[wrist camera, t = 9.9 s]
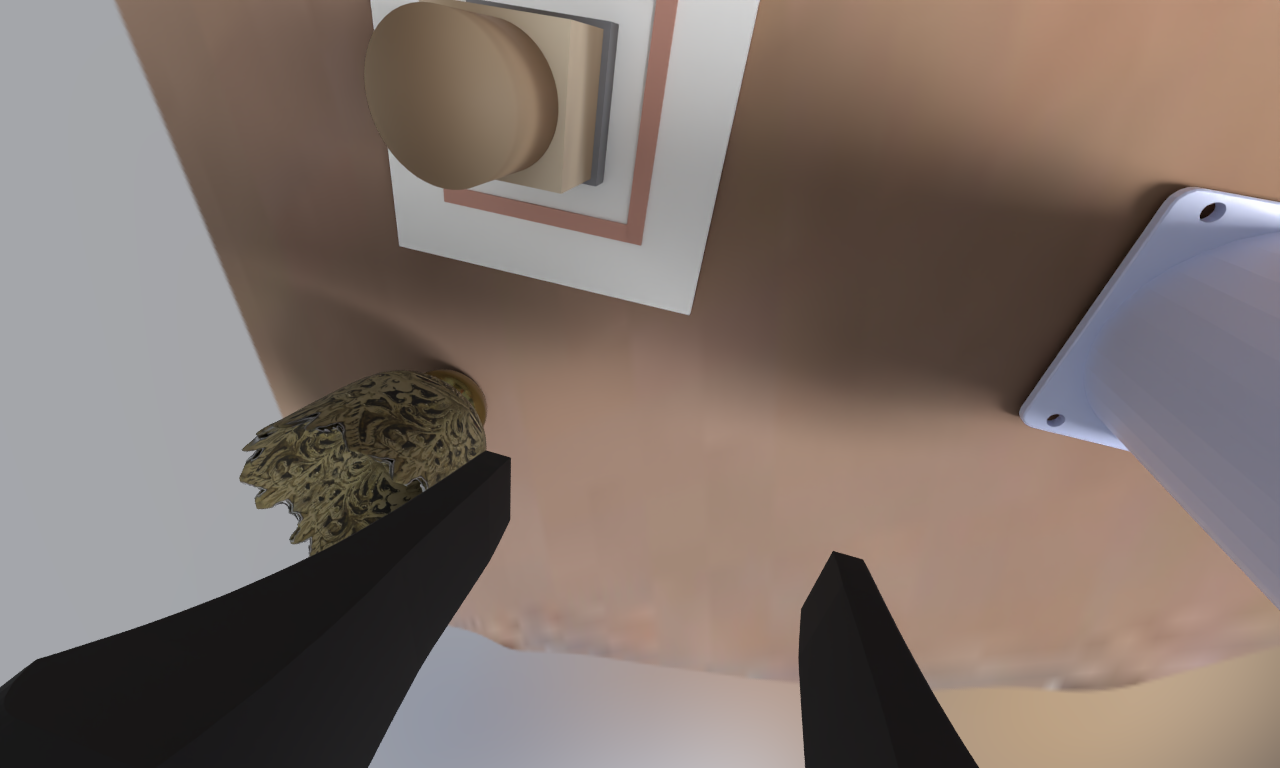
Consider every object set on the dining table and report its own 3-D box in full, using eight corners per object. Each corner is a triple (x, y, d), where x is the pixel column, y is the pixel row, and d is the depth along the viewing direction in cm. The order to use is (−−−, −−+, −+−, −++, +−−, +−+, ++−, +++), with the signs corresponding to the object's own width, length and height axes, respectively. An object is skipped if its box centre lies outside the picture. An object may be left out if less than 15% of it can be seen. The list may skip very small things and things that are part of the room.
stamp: (619, 24, 15) (533, -6, 10) (603, 182, 17) (528, 224, 12) (479, 0, 15) (330, -39, 10) (483, 157, 17) (364, 187, 12)
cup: (359, 341, 24) (194, 443, 17) (485, 308, 21) (348, 413, 14) (436, 464, 27) (322, 591, 20) (554, 449, 24) (467, 588, 18)
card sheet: (788, -127, 12) (788, -132, 12) (690, 312, 19) (689, 316, 19) (356, -180, 14) (346, -187, 14) (404, 244, 20) (397, 246, 20)
